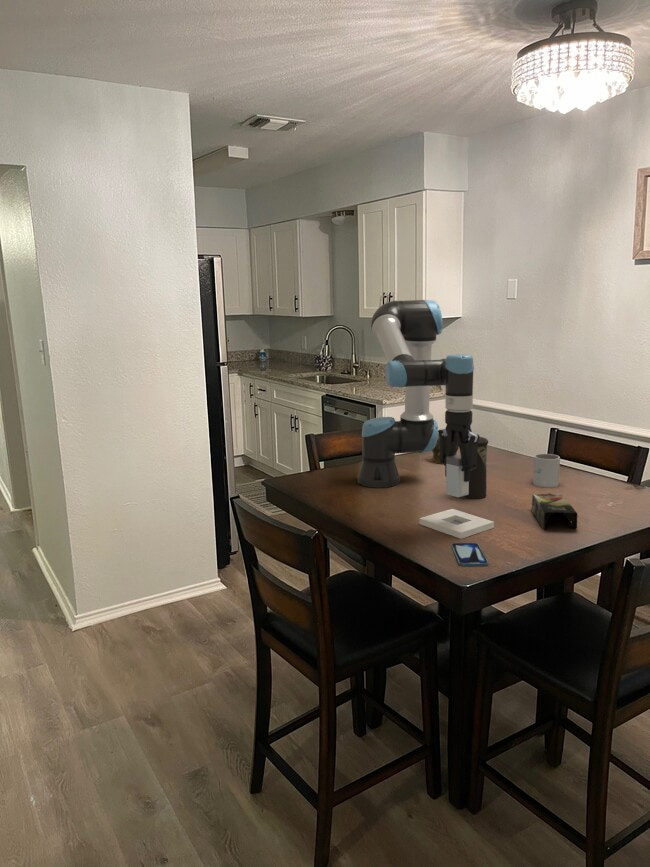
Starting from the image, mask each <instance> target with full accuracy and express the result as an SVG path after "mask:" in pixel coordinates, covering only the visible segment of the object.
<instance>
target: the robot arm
mask: <svg viewBox="0 0 650 867" xmlns="http://www.w3.org/2000/svg"><path fill="white" fill-rule="evenodd" d="M443 323H444V322H443V315H442V310H441V308H440V305H439V304H438V303H437V301H435V300H430V299H413V300H411V299H410V300H390V301H388V302H385V303H384V304H382V305H381V306H379V307H378V308H377V309H376V311H375V312H374V313H373V315H372V317H371V321H370V330H371V332H372V335H373V336H374V338H375V339H377V340H378V341H379V344H380V346H381V348H382V351H383V353H384V356H385V359H386V360H387V363H386V365H385V381H386V385H387V386H389V387H392V388H393V387H394V388H395V387H396V388H405V390H404V391H405V392H404V396H405V397H404V411H403V412H402V413H401V414H400V420H395V418H394V417H392V416H380V417H374V418H370V419H368V420H366V421H365V422H363V423H362V428H361V429H362V430H361V437H362V438H361V441H362V444H361V445H362V448H361V450H362V458H361V459H362V461H361V466H360V469H359V472H358V475H357V483H358V484H359V485H360V484H361V485H360V486H364V487H368V488H369V487H370V488H388V487H394V486H397V485H399V484H400V474H399V472H398V469H397V468H398V467H397V465H396V462H395V460H396V459H395V455H396V454H414V453H416V454H417V453H418V454H423V453H429V452H432V450H433V449H434V447H435V445H436V443H437V438H438V433H439V437H440V463H443V464H442V465H444V470H445V471H444V472H445V473H444V475H445V476H444V477H446V459H447V457H448V456H453V455H455V451H456V446H457V444H458V447H459V448H458V449H459V452H460V455H461V460H462V467H463V469H461V474H460V493H465V492H469V481H470V477H471V470H472V469H476V468H477V448H478V440H479V437H481V436H480V435H479V434H475V433H473V432H472V427H471V425H472V424H473V411H472V409H473V407H474V405H473V398H474V397H473V395H474V391H473V390H474V370H475V367H474V357H473V355H470V354H465V353H464V354H461V353H459V354H448V355H447V356H446V358H440V359H432V345H433V344H434V343H435V342H437V336H439V335H441V333H442V332H443V325H444V324H443ZM437 386H445V409H446V411H445V412H444V422H445V424H446V425H445V428H442V429H439V426H438V422H437V421H436V419H434V415H433V414H432V413H431V412H430V400H431V399H430V395H431V393H430V392H431V387H437ZM468 438H469V439H468ZM462 443H464V444H462Z"/></svg>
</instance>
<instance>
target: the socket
mask: <svg viewBox="0 0 650 867" xmlns="http://www.w3.org/2000/svg"><path fill="white" fill-rule="evenodd" d="M419 525H421V526H424V527H427V528H429V529H433V530H435V531H437V532H441V533H444V534H447V535H449V536H451V537H455V538H457V539H460V540H462V539H464V538H465V539H466V538H468V537H471V536H473V535H476V534H480V533H482V532H486V531H489V530H491V529H494V528H495V521H493V520H489V519H487V518H483V517H481V516H480V517H479V516H477V515H473V514H470V513H467V512H464V511H461V510H457V509H455V508H451V509H447V510H443V511H440V512H436V513H432V514H429V515H426V516H423V517H420V518H419Z"/></svg>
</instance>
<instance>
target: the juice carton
mask: <svg viewBox="0 0 650 867" xmlns="http://www.w3.org/2000/svg"><path fill="white" fill-rule="evenodd" d="M530 509H531V511H532V514H533V515H534V516H535V518H536V519H537V521H538V523H539V525H540V527H541V528H542V530H544V531H547V529H546V526H547V522H548V519H549V518H550V517H551V515H554V514H562V513H563V514H564V517H565V518H566V517H567V518H568V519H567V518H566V519H567V520H568V521H569V523H570V522H571V523H570V525H569V526H568V529H570V530H575V531H576V530H577V529H578V512H577V511H576V510H575V509H574V507H573V506H572V505H571V504H570V503H569V502H568V500H567V498H565V497H564V495H563V494H560V493H549V492H548V493H538V494H537V493H536V494H535V493H532V497H531V508H530ZM571 524H572V525H571Z"/></svg>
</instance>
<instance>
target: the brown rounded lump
mask: <svg viewBox="0 0 650 867" xmlns="http://www.w3.org/2000/svg"><path fill="white" fill-rule="evenodd" d="M459 449H460V448H459V447H458V444H457V446H456V451H455V455H458V451H459ZM431 452H432V458H433V459H432V460H433V462H434V463H435V464H438V465H444V464H443V463H440V437H439V433H438V438H437V443H436V445H435V447H434V449H433V450H432V451H431Z"/></svg>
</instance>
